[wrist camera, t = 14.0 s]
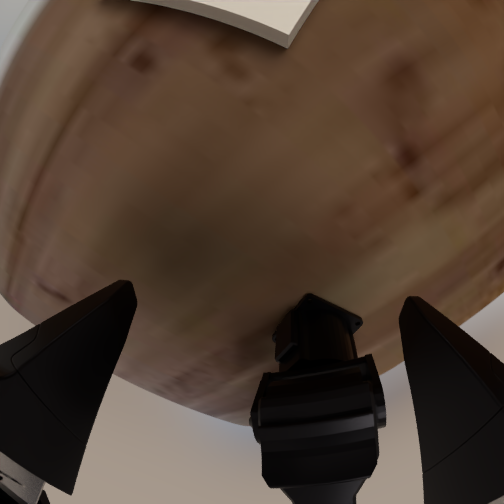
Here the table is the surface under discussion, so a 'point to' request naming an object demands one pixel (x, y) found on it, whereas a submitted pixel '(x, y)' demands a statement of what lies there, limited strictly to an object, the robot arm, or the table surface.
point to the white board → (251, 15)
